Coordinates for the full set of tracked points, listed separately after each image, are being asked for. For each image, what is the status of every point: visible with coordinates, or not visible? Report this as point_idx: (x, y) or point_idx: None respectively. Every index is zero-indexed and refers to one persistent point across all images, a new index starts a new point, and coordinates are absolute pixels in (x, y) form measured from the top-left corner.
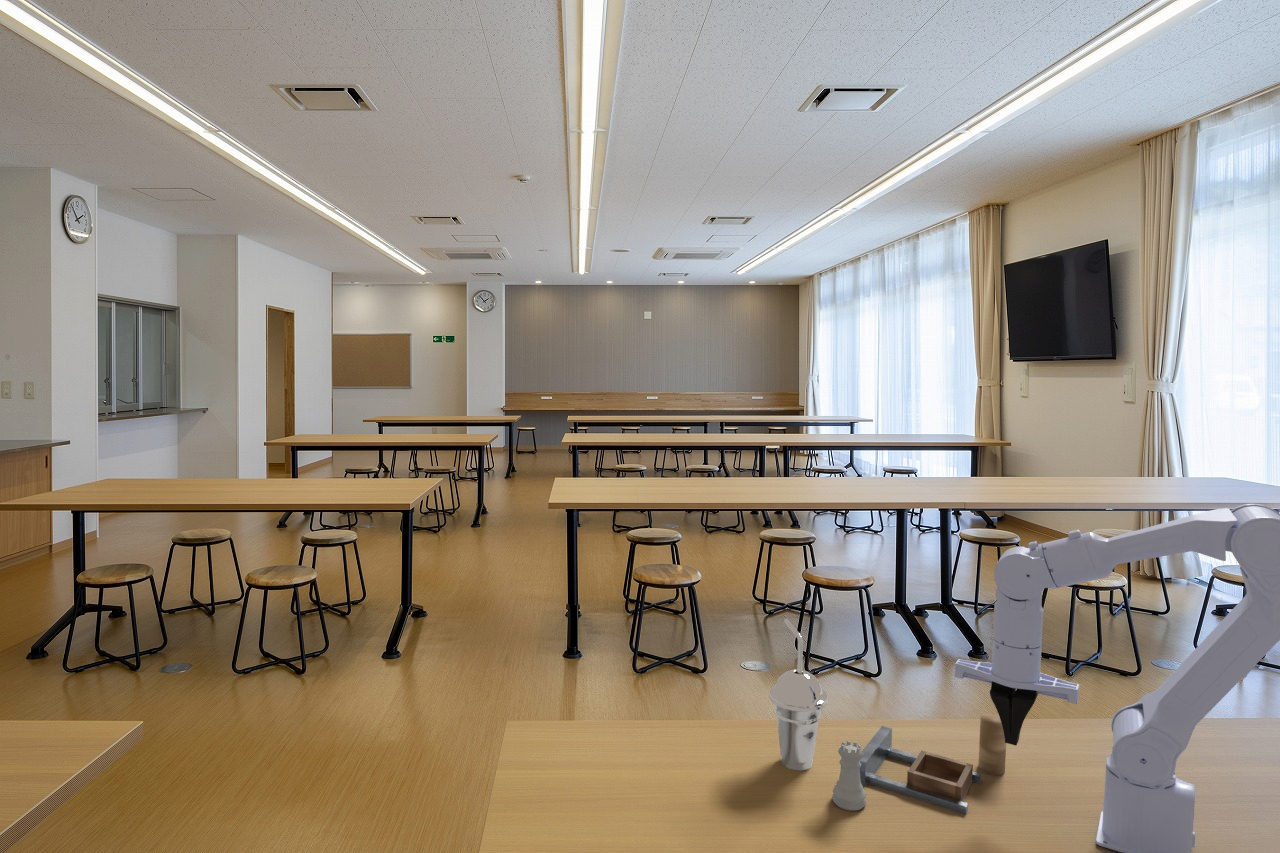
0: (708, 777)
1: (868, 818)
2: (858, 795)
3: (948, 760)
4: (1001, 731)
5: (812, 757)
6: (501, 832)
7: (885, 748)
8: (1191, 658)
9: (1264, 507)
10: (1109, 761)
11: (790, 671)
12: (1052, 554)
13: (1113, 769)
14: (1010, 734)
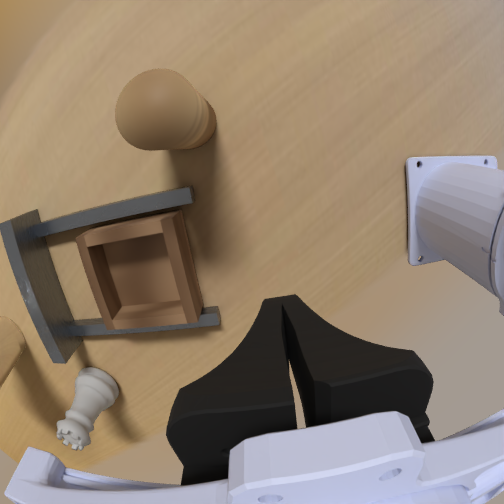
0: (12, 400)
1: (135, 396)
2: (110, 403)
3: (127, 238)
4: (193, 131)
5: (16, 343)
6: None
7: (35, 251)
8: None
9: None
10: (499, 262)
11: None
12: None
13: (500, 297)
14: (288, 362)
